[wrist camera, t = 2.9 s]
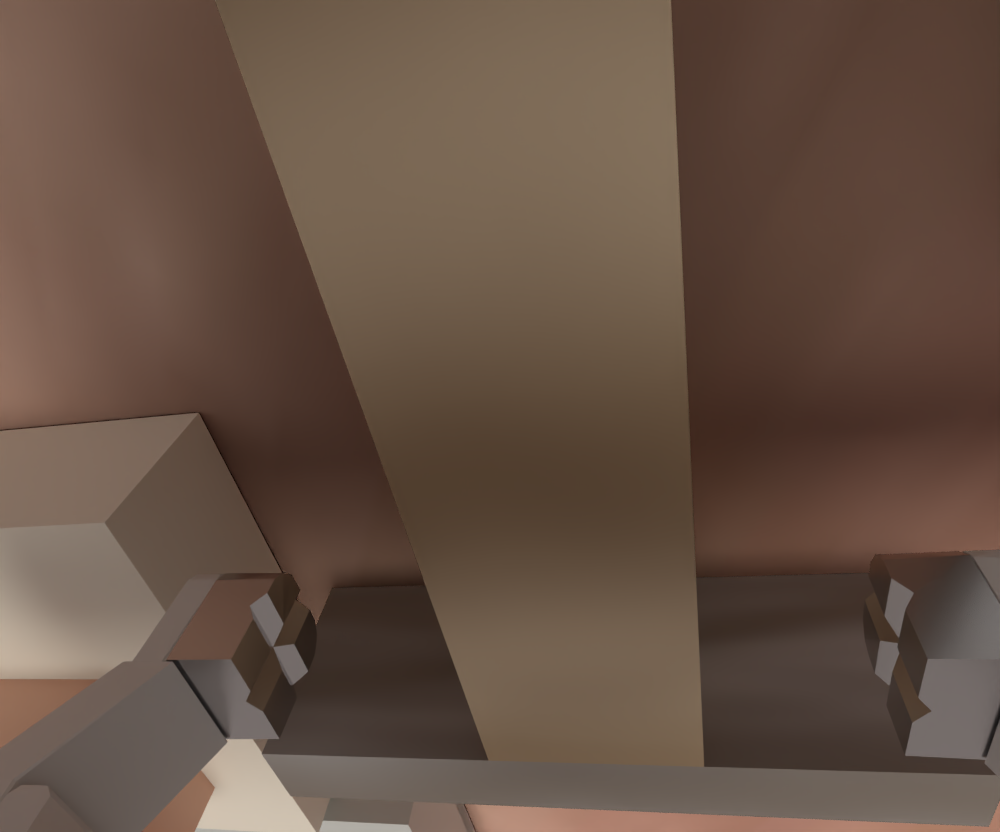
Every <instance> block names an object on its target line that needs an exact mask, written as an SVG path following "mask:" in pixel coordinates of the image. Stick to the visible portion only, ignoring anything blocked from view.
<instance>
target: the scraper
mask: <svg viewBox="0 0 1000 832" xmlns="http://www.w3.org/2000/svg"><path fill="white" fill-rule="evenodd" d="M215 3H216V5H217V8H218V11H219V14H220V16H221V19H222V22H223V25H224V28H225V30H226V33H227V36H228V39H229V41H230V44H231V47H232V50H233V53H234V55H235V58H236V61H237V64H238V66H239V69H240V72H241V75H242V77H243V80H244V83H245V86H246V89H247V91H248V94H249V97H250V100H251V102H252V105H253V108H254V111H255V114H256V116H257V119H258V122H259V125H260V127H261V130H262V133H263V136H264V139H265V141H266V144H267V147H268V150H269V152H270V155H271V158H272V161H273V164H274V166H275V169H276V172H277V175H278V177H279V180H280V183H281V186H282V189H283V191H284V194H285V197H286V200H287V202H288V205H289V208H290V211H291V214H292V216H293V219H294V222H295V225H296V227H297V230H298V233H299V236H300V238H301V241H302V244H303V247H304V250H305V252H306V255H307V258H308V261H309V263H310V266H311V269H312V272H313V275H314V277H315V280H316V283H317V286H318V288H319V291H320V294H321V297H322V300H323V302H324V305H325V308H326V311H327V313H328V316H329V319H330V322H331V325H332V327H333V330H334V333H335V336H336V338H337V341H338V344H339V347H340V350H341V352H342V355H343V358H344V361H345V363H346V366H347V369H348V372H349V375H350V377H351V380H352V383H353V386H354V388H355V391H356V394H357V397H358V399H359V402H360V405H361V408H362V411H363V413H364V416H365V419H366V422H367V424H368V427H369V430H370V433H371V436H372V438H373V441H374V444H375V447H376V449H377V452H378V455H379V458H380V461H381V463H382V466H383V469H384V472H385V474H386V477H387V480H388V483H389V486H390V488H391V491H392V494H393V497H394V499H395V502H396V505H397V508H398V511H399V513H400V516H401V519H402V522H403V524H404V527H405V530H406V533H407V536H408V538H409V541H410V544H411V547H412V549H413V552H414V555H415V558H416V560H417V563H418V566H419V569H420V572H421V574H422V577H423V580H424V583H425V585H421V586H386V587H350V588H332V589H331V592H330V594H329V596H328V599H327V601H326V604H325V606H324V608H323V611H322V613H321V615H320V618H319V620H318V622H317V625H316V631H317V642H316V650H315V656H314V658H313V661H312V663H311V666H310V668H309V671H308V672H307V673H306V674H305V675H304V676H303V677H301V678H300V679H299V680H298V681H297V682H296V683H295V684H293V685H294V689H295V692H296V696H297V699H296V702H295V704H294V706H293V709H292V711H291V713H290V716H289V718H288V720H287V723H286V725H285V727H284V730H283V732H282V734H281V737H280V739H268V740H267V742H266V745H265V747H264V749H263V752H262V755H263V757H264V758H265V760H266V761H267V763H268V764H269V766H270V767H271V769H272V770H273V771H274V773H275V774H276V776H277V777H278V779H279V780H280V782H281V783H282V785H283V786H284V787H285V789H286V790H287V792H288V793H289V795H290V796H293V797H316V798H339V799H362V800H385V801H408V802H431V803H455V804H478V805H501V806H524V807H547V808H570V809H593V810H616V811H640V812H663V813H686V814H709V815H732V816H755V817H778V818H802V819H825V820H848V821H871V822H894V823H917V824H940V825H963V826H987V827H989V825H990V822H991V820H992V818H993V815H994V813H995V810H996V808H997V806H998V803H999V801H1000V778H999V777H998V776H997V775H996V774H995V773H994V772H993V771H992V770H991V769H990V768H989V767H988V766H987V765H985V764H984V763H985V760H980V759H960V758H941V757H922V756H905V754H904V752H903V749H902V746H901V744H900V741H899V738H898V735H897V733H896V730H895V727H894V725H893V722H892V719H891V717H890V714H889V711H888V709H887V706H886V704H887V698H888V693H889V687H890V686H889V685H888V684H887V683H886V682H884V681H883V680H882V679H881V678H880V677H878V676H877V675H876V674H875V673H874V670H873V667H872V664H871V661H870V658H869V655H868V651H867V647H866V643H865V639H864V627H863V612H864V602H865V599H867V598H868V597H869V596H870V595H871V594H873V593H874V592H875V591H874V589H873V586H872V584H871V581H870V579H869V576H868V575H869V573H844V574H809V575H774V576H738V577H703V578H696V565H695V542H694V519H693V496H692V473H691V450H690V426H689V403H688V380H687V357H686V334H685V311H684V288H683V265H682V242H681V219H680V196H679V173H678V150H677V126H676V103H675V80H674V57H673V34H672V11H671V0H215Z"/></svg>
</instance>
